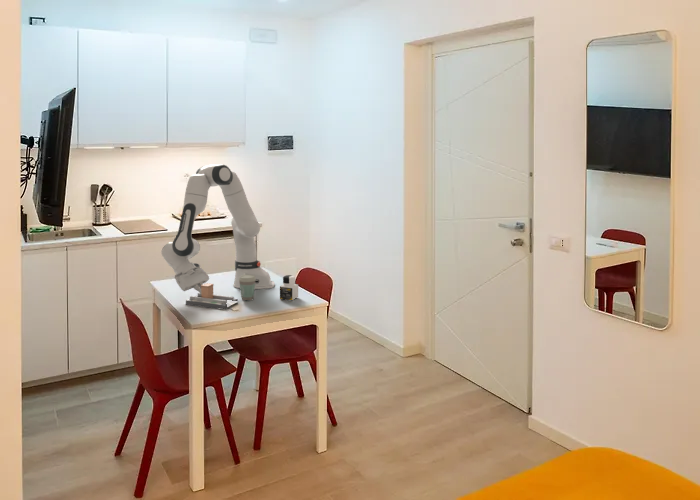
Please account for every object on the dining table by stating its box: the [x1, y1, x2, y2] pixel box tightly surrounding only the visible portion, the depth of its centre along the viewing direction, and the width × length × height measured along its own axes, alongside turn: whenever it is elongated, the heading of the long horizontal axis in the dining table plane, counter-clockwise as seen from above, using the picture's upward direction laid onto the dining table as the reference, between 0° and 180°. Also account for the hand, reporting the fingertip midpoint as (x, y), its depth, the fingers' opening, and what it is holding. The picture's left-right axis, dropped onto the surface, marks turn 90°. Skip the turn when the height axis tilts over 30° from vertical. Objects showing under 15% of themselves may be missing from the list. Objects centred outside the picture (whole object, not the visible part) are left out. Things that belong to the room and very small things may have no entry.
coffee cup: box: [239, 275, 256, 301], centre depth 315 cm, size 8×8×12 cm
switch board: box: [185, 292, 239, 310], centre depth 308 cm, size 22×12×4 cm, turn 70°
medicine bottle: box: [279, 274, 299, 301], centre depth 318 cm, size 7×7×12 cm
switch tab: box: [201, 282, 215, 299], centre depth 308 cm, size 4×5×7 cm
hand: (203, 292), depth 309 cm, fingers closed, pressing on switch tab
